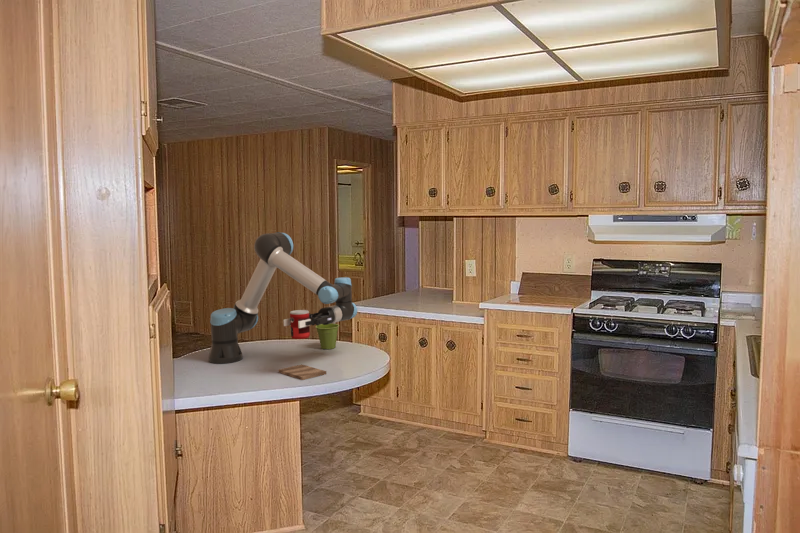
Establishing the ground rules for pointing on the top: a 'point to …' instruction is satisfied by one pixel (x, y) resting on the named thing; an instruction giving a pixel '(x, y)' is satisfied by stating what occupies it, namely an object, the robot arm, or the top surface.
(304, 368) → the walnut board
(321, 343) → the plant pot
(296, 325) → the canned food
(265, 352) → the top surface
